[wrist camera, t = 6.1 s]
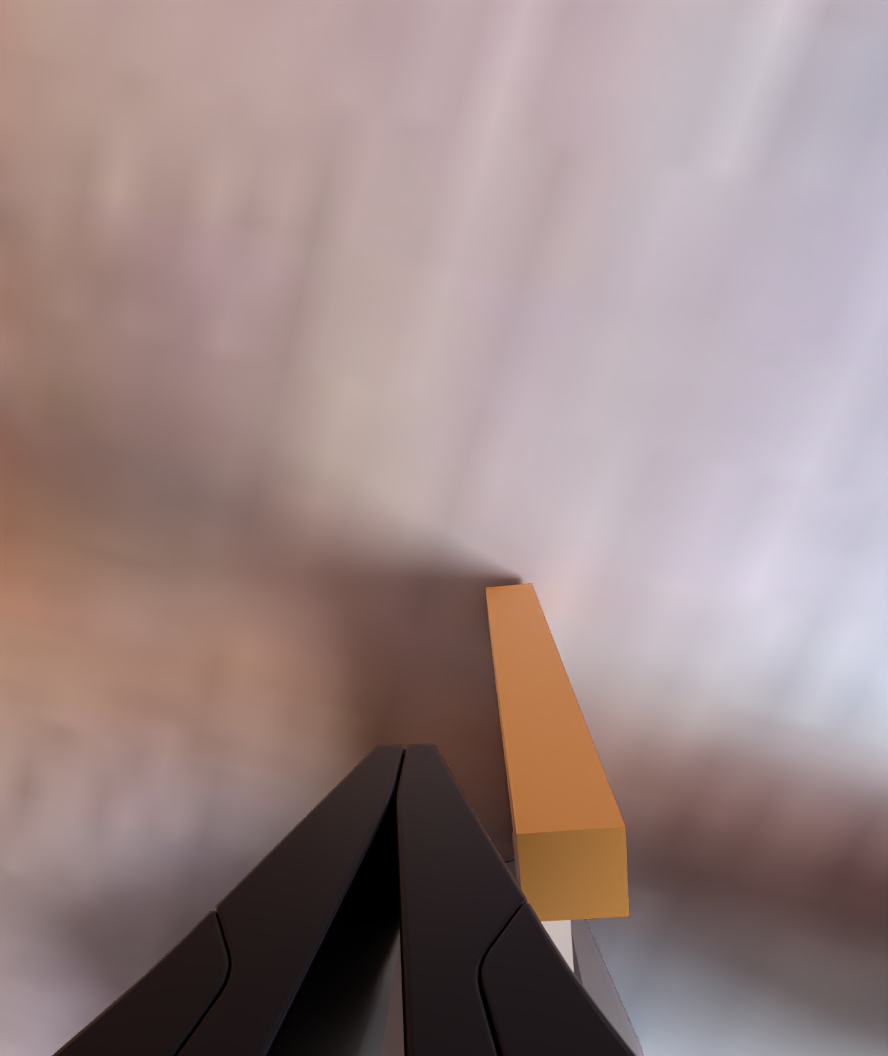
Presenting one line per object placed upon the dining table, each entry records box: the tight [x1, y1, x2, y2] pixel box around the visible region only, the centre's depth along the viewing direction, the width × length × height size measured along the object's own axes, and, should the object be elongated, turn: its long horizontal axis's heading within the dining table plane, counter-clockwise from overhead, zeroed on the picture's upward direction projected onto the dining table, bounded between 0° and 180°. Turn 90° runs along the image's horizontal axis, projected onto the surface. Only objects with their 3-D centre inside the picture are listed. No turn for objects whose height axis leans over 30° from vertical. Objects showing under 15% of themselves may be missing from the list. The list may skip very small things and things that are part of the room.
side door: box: [485, 583, 629, 972], centre depth 11 cm, size 8×1×8 cm, turn 6°
